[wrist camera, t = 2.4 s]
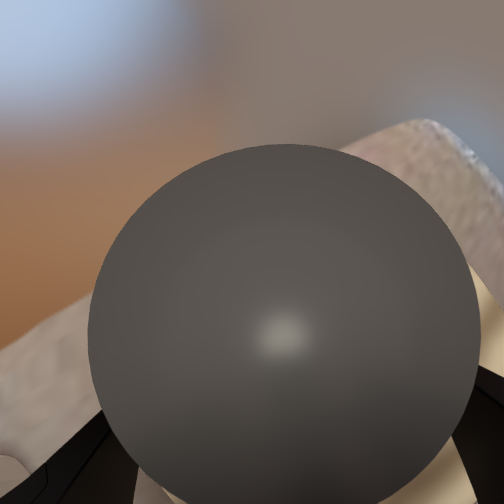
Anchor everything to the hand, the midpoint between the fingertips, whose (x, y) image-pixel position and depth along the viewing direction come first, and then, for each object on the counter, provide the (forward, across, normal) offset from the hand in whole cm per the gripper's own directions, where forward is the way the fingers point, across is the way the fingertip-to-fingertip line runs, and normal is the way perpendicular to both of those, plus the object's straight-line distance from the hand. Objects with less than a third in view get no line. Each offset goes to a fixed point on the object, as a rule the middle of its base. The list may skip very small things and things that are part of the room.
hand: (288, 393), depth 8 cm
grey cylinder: (+7, 0, +5) cm, 9 cm away
